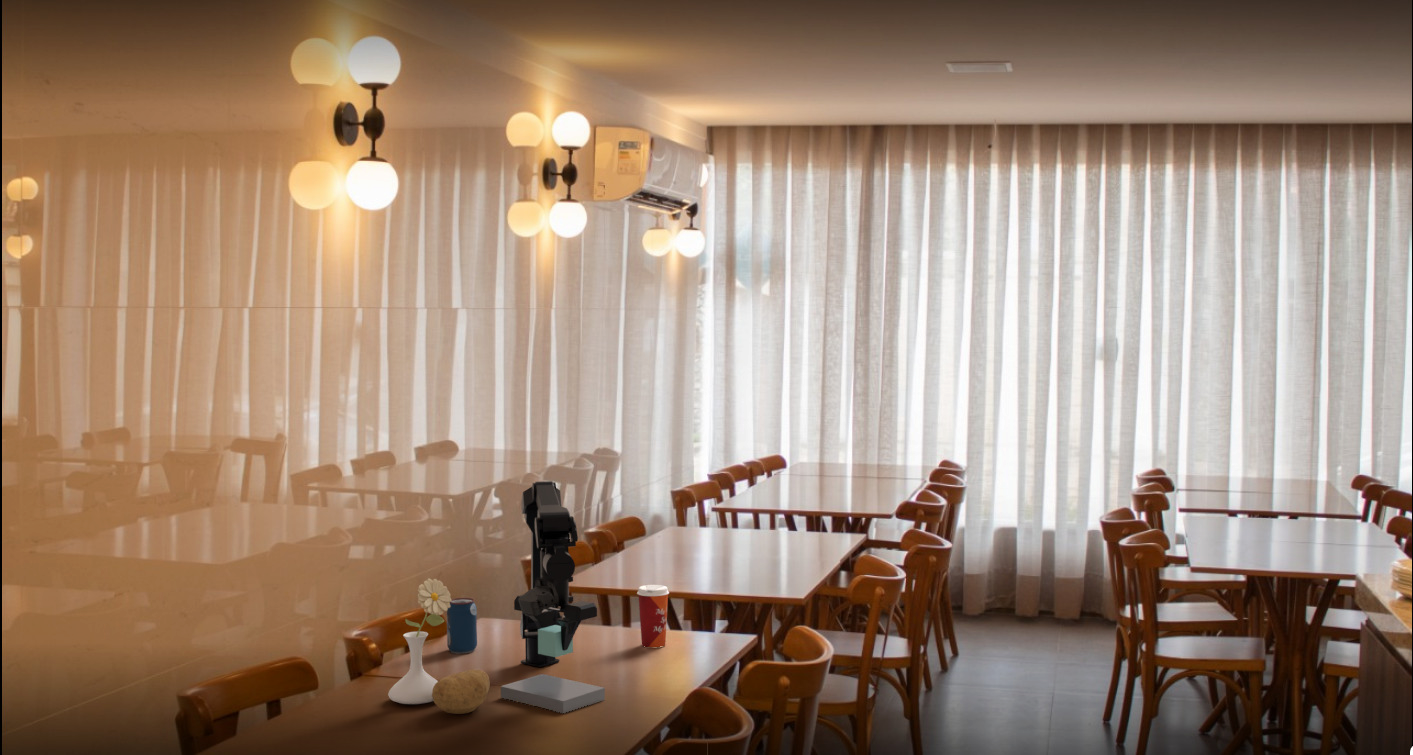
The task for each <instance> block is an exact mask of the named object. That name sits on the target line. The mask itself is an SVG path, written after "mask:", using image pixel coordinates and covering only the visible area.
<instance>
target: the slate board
mask: <svg viewBox="0 0 1413 755" xmlns="http://www.w3.org/2000/svg"><path fill="white" fill-rule="evenodd" d="M605 690H606V688H605V687H602V686H599V685H595V684H589V683H585V682H581V681H576V680H572V679H568V678H562V677H559V676H558V677H557V676H553V675H550V674H544V673H541V674H538V675H533V676H531V677H528V678H524V679H520V680H517V681H514V682H513V681H512V682H510V683H508V684H507V683H506V684H504V685H501V686H500V699H502V698H504V699H503V700H506V699H509V700H508V701H510V700H513V701H512V702H514V701H518V702H522V703H526V704H530V705H534V706H539V707H542V708H546V709H549V710H548V711H550V710H553V711H552V712H555V711H556V712H555V713H559V712H560V713H559V714H563V713H564V714H567V713H570V712H572V710H573V711H575V709H576V710H579V709H581V707H582V708H585V707H588V706H591V705H594V704H597V703H599V702H602V701H605V700H606V696H605V695H606V693H605ZM518 702H517V703H518ZM522 703H521V704H522ZM526 704H525V705H526ZM530 705H529V706H530ZM587 705H588V706H587ZM534 706H533V707H534ZM584 706H585V707H584ZM542 708H541V709H542ZM578 708H579V709H578ZM546 709H545V710H546ZM569 711H570V712H569ZM566 712H567V713H566Z"/></svg>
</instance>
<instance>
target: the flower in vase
mask: <svg viewBox="0 0 1413 755" xmlns="http://www.w3.org/2000/svg"><path fill="white" fill-rule="evenodd" d="M417 592H418V594H417V600H418V601H417V603H418V605H420V607H421V608H422V609H423V610H424V612H425V615H424V618H423V620H422V622H421V624H420V623H418V622H415V621H414V622H413V621H412V620H409V619H407V618H405V623H406V624H407V625H408V626H411V627H416V628H418V630H417V631H410V632H409V631H408V632H406V633H404V634H403V635H402V636H403V638H404V639H405V640H406V642H407V645H408V648H409V653H410V656H409V657H410V665H409V670H408V671H407V673H405V675H404V676H403V677H401V678H400V679H399V680H398V681H397V682H396V683H395V684H394V685H392V687H391V688H390V689H389V691H388V694H387V696H388V698H389V699H390V700H391V701H393V702H396V703H399V704H402V705H420V704H426V703H432V702H434V700H433V697H432V691H433V687H434V686H435V684H436V683H437V682H438V681H439V680H437V679H436V678H434V677H433V676H431V675H430V674H429V673H427V671H425V670H424V667H423V659H422V656H423V648H424V643H425V641H426V639H427V637H428V635H429V633H428V632H427V631H421V630H422V627H423V625H424V624H425V622H427V623H428V624H429V625H430V626H432V627H436V626H440V625H442V624H443V623H444V622H445V619H444V618H443V617H442V616H441V615H443V614H444V612H447V609H448V608H450V603H449V602H451V601H452V598H451V593H450V590H448V587H447V586H444V583H443V581H441V580H437V578H433V579H431V578H427V580H424V582H423V584H422V583H421V584H420V585H419V586H418V589H417ZM428 614H429V615H428Z"/></svg>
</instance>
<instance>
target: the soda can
mask: <svg viewBox="0 0 1413 755" xmlns="http://www.w3.org/2000/svg"><path fill="white" fill-rule="evenodd" d="M451 599H452V598H451ZM449 603H450V608H448V609H447V611H446V639H447V640H446V641H447V644H446V645H447V648H448V650H449V652H450V653H452V654H458V655H459V654H462V655H463V654H469V653H473V652H474V651H475V650H476V648H477V646H478V624H477V623H478V620H477V618H478V616H477V615H478V614H477V605H476V604H475V600H474V598H470V597H457V598H453V599H452V601H451V602H449Z"/></svg>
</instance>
